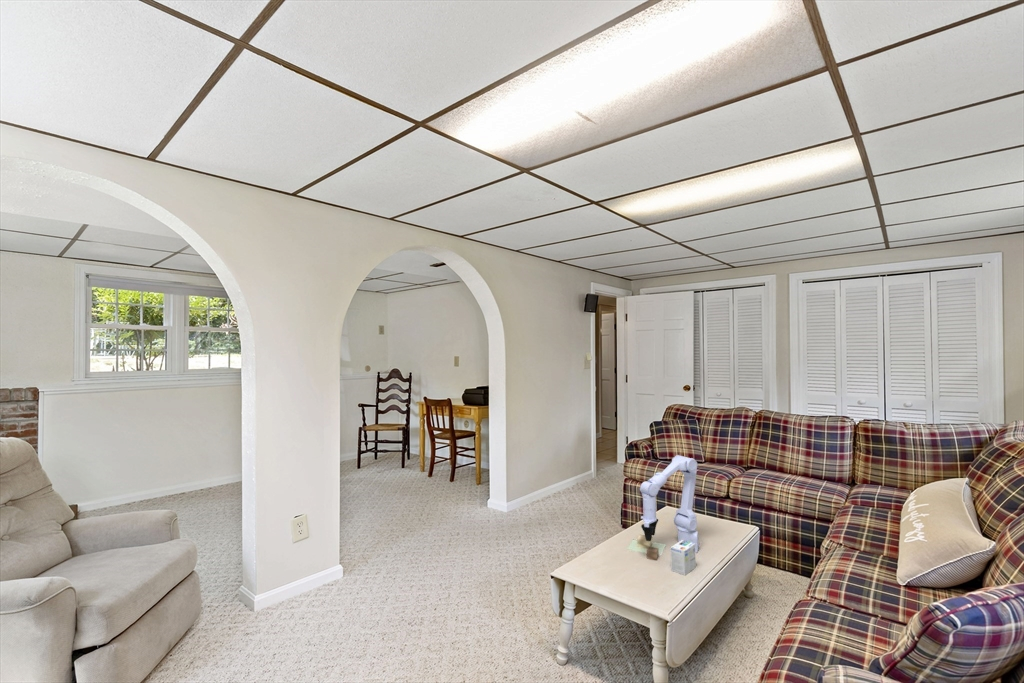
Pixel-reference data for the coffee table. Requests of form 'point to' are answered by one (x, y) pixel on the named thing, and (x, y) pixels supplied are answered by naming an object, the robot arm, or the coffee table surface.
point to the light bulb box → (683, 557)
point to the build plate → (634, 548)
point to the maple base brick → (643, 542)
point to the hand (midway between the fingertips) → (650, 537)
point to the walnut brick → (652, 553)
